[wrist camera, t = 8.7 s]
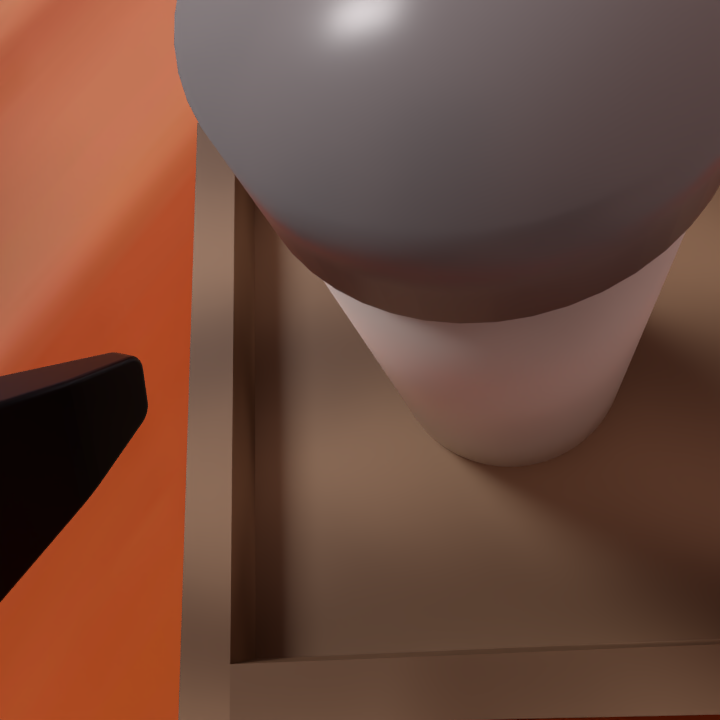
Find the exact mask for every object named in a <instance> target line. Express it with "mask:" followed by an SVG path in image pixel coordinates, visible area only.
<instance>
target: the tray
mask: <svg viewBox="0 0 720 720" xmlns="http://www.w3.org/2000/svg"><path fill="white" fill-rule="evenodd" d="M674 715H720V186H719V187H718V189H717V191H716V193H715V194H714V196H713V198H712V200H711V201H710V202H709V203H708V205H707V206H706V207H705V209H704V210H703V211H702V212H701V214H700V215H699V216H698V218H697V219H696V220H695V221H694V223H693V224H692V225H691V226H690V227H689V228H688V229H687V230H686V232H685V234H684V237H683V239H682V241H681V244H680V246H679V249H678V251H677V253H676V256H675V258H674V260H673V263H672V265H671V267H670V270H669V272H668V274H667V277H666V279H665V281H664V284H663V286H662V289H661V291H660V293H659V296H658V298H657V300H656V303H655V305H654V307H653V310H652V312H651V314H650V317H649V319H648V322H647V324H646V326H645V329H644V331H643V333H642V336H641V338H640V340H639V343H638V345H637V347H636V350H635V352H634V355H633V357H632V359H631V362H630V364H629V366H628V369H627V371H626V373H625V376H624V378H623V380H622V383H621V385H620V388H619V390H618V392H617V395H616V397H615V399H614V402H613V404H612V406H611V408H610V409H609V411H608V413H607V415H606V417H605V418H604V419H603V421H602V422H601V423H600V425H599V426H598V427H597V428H596V429H595V430H594V431H593V432H592V433H591V434H590V435H589V436H588V437H587V438H586V439H585V440H584V441H583V442H581V443H580V444H579V445H577V446H576V447H575V448H573V449H571V450H570V451H568V452H566V453H564V454H562V455H561V456H558V457H556V458H553V459H550V460H548V461H545V462H541V463H537V464H533V465H527V466H518V467H500V466H493V465H486V464H482V463H478V462H475V461H471V460H469V459H466V458H464V457H461V456H459V455H457V454H455V453H453V452H452V451H450V450H448V449H447V448H445V447H444V446H442V445H441V444H440V443H438V442H437V441H436V440H435V439H433V438H432V437H431V436H430V435H429V434H428V433H427V432H426V431H425V430H424V428H423V427H422V426H421V424H420V423H419V422H418V420H417V419H416V418H415V416H414V415H413V413H412V412H411V410H410V409H409V407H408V406H407V404H406V403H405V401H404V400H403V398H402V397H401V395H400V394H399V392H398V391H397V389H396V388H395V387H394V385H393V384H392V382H391V381H390V379H389V378H388V376H387V375H386V373H385V372H384V370H383V369H382V367H381V366H380V364H379V363H378V361H377V360H376V358H375V357H374V355H373V354H372V352H371V351H370V349H369V348H368V346H367V345H366V343H365V342H364V340H363V339H362V337H361V336H360V334H359V333H358V331H357V330H356V328H355V327H354V326H353V324H352V323H351V321H350V320H349V318H348V317H347V315H346V314H345V312H344V311H343V309H342V308H341V306H340V305H339V303H338V302H337V300H336V299H335V297H334V296H333V294H332V293H331V291H330V290H329V288H328V287H327V285H326V284H325V282H324V281H323V280H322V279H321V278H319V277H318V276H316V275H315V274H314V273H312V272H311V271H310V270H309V269H308V268H307V267H306V266H305V265H304V264H303V263H302V262H301V261H300V260H298V259H297V258H296V257H295V256H294V255H293V254H292V253H291V252H290V250H289V249H288V248H287V246H286V245H285V244H284V242H283V241H282V240H281V238H280V237H279V236H278V234H277V233H276V232H275V230H274V229H273V228H272V226H271V225H270V223H269V222H268V221H267V219H266V218H265V216H264V215H263V214H262V212H261V211H260V209H259V208H258V207H257V205H256V204H255V202H254V201H253V199H252V198H251V197H250V195H249V194H248V192H247V191H246V190H245V188H244V187H243V185H242V184H241V183H240V181H239V180H238V178H237V177H236V176H235V174H234V173H233V171H232V170H231V169H230V167H229V166H228V164H227V163H226V162H225V160H224V159H223V157H222V156H221V155H220V153H219V152H218V150H217V149H216V148H215V146H214V145H213V143H212V142H211V141H210V139H209V138H208V136H207V135H206V134H205V132H204V131H203V129H202V128H201V126H200V124H199V123H197V154H196V186H195V217H194V249H193V280H192V312H191V343H190V375H189V406H188V438H187V469H186V501H185V532H184V564H183V596H182V627H181V659H180V690H179V720H491V719H537V718H583V717H628V716H674Z"/></svg>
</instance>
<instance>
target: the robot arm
mask: <svg viewBox="0 0 720 720" xmlns="http://www.w3.org/2000/svg"><path fill="white" fill-rule="evenodd" d="M147 409H148V401H147V395H146V388H145V381H144V374H143V367H142V364H141V362H140V360H139V359H138V358H136V357H134V356H131V355H126V354H121V353H107V354H102V355H98V356H93V357H88V358H84V359H79V360H74V361H70V362H65V363H60V364H56V365H51V366H47V367H42V368H37V369H33V370H28V371H23V372H19V373H14V374H9V375H5V376H0V602H1V601H2V600H3V599H4V597H5V596H6V595H7V594H8V593H9V592H10V590H11V589H12V588H13V587H14V586H15V584H16V583H17V582H18V581H19V580H20V579H21V577H22V576H23V575H24V574H25V573H26V572H27V570H28V569H29V568H30V567H31V566H32V565H33V563H34V562H35V561H36V560H37V559H38V558H39V556H40V555H41V554H42V553H43V552H44V551H45V549H46V548H47V547H48V546H49V545H50V543H51V542H52V541H53V540H54V539H55V538H56V536H57V535H58V534H59V533H60V532H61V531H62V529H63V528H64V527H65V526H66V525H67V524H68V522H69V521H70V520H71V519H72V518H73V517H74V515H75V514H76V513H77V512H78V511H79V510H80V508H81V507H82V506H83V505H84V504H85V502H86V501H87V500H88V499H89V497H90V496H91V495H92V494H93V492H94V491H95V490H96V488H97V487H98V485H99V484H100V483H101V481H102V480H103V478H104V477H105V476H106V474H107V473H108V471H109V470H110V468H111V467H112V465H113V464H114V463H115V461H116V460H117V458H118V457H119V455H120V454H121V453H122V451H123V450H124V448H125V447H126V445H127V444H128V442H129V441H130V440H131V438H132V437H133V435H134V434H135V432H136V431H137V429H138V428H139V427H140V425H141V424H142V422H143V421H144V419H145V416H146V414H147Z"/></svg>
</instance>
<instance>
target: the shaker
mask: <svg viewBox="0 0 720 720" xmlns="http://www.w3.org/2000/svg"><path fill="white" fill-rule="evenodd" d="M174 45H175V52H176V59H177V66H178V73H179V76H180V79H181V82H182V86H183V89H184V92H185V95H186V98H187V101H188V103H189V105H190V107H191V109H192V111H193V113H194V115H195V117H196V118H197V120H198V122H199V124H200V126H201V128H202V129H203V131H204V132H205V134H206V135H207V136H208V138H209V139H210V141H211V142H212V143H213V145H214V146H215V148H216V149H217V150H218V152H219V153H220V155H221V156H222V157H223V159H224V160H225V162H226V163H227V164H228V166H229V167H230V169H231V170H232V171H233V173H234V174H235V176H236V177H237V178H238V180H239V181H240V183H241V184H242V185H243V187H244V188H245V190H246V191H247V192H248V194H249V195H250V197H251V198H252V199H253V201H254V202H255V204H256V205H257V207H258V208H259V209H260V211H261V212H262V214H263V215H264V216H265V218H266V219H267V221H268V222H269V223H270V225H271V226H272V228H273V229H274V230H275V232H276V233H277V234H278V236H279V237H280V238H281V240H282V241H283V242H284V244H285V245H286V246H287V248H288V249H289V250H290V252H291V253H292V254H293V255H294V256H295V257H296V258H297V259H298V260H300V261H301V262H302V263H303V264H304V265H305V266H306V267H307V268H308V269H309V270H310V271H311V272H312V273H314V274H315V275H316V276H318V277H319V278H321V279H322V280H323V281H324V282H325V284H326V285H327V287H328V288H329V290H330V291H331V293H332V294H333V296H334V297H335V299H336V300H337V302H338V303H339V305H340V306H341V308H342V309H343V311H344V312H345V314H346V315H347V317H348V318H349V320H350V321H351V323H352V324H353V326H354V327H355V328H356V330H357V331H358V333H359V334H360V336H361V337H362V339H363V340H364V342H365V343H366V345H367V346H368V348H369V349H370V351H371V352H372V354H373V355H374V357H375V358H376V360H377V361H378V363H379V364H380V366H381V367H382V369H383V370H384V372H385V373H386V375H387V376H388V378H389V379H390V381H391V382H392V384H393V385H394V387H395V388H396V389H397V391H398V392H399V394H400V395H401V397H402V398H403V400H404V401H405V403H406V404H407V406H408V407H409V409H410V410H411V412H412V413H413V415H414V416H415V418H416V419H417V420H418V422H419V423H420V424H421V426H422V427H423V428H424V430H425V431H426V432H427V433H428V434H429V435H430V436H431V437H432V438H433V439H435V440H436V441H437V442H438V443H440V444H441V445H442V446H444V447H445V448H447V449H448V450H450V451H452V452H453V453H455V454H457V455H459V456H461V457H464V458H466V459H469V460H471V461H475V462H478V463H482V464H486V465H493V466H500V467H518V466H527V465H533V464H537V463H541V462H545V461H548V460H550V459H553V458H556V457H558V456H561V455H562V454H564V453H566V452H568V451H570V450H571V449H573V448H575V447H576V446H577V445H579V444H580V443H581V442H583V441H584V440H585V439H586V438H587V437H588V436H589V435H590V434H591V433H592V432H593V431H594V430H595V429H596V428H597V427H598V426H599V425H600V423H601V422H602V421H603V419H604V418H605V417H606V415H607V413H608V411H609V409H610V408H611V406H612V404H613V402H614V399H615V397H616V395H617V392H618V390H619V388H620V385H621V383H622V380H623V378H624V376H625V373H626V371H627V369H628V366H629V364H630V362H631V359H632V357H633V355H634V352H635V350H636V347H637V345H638V343H639V340H640V338H641V336H642V333H643V331H644V329H645V326H646V324H647V322H648V319H649V317H650V314H651V312H652V310H653V307H654V305H655V303H656V300H657V298H658V296H659V293H660V291H661V289H662V286H663V284H664V281H665V279H666V277H667V274H668V272H669V270H670V267H671V265H672V263H673V260H674V258H675V256H676V253H677V251H678V249H679V246H680V244H681V241H682V239H683V237H684V234H685V232H686V230H687V229H688V228H689V227H690V226H691V225H692V224H693V223H694V221H695V220H696V219H697V218H698V216H699V215H700V214H701V212H702V211H703V210H704V209H705V207H706V206H707V205H708V203H709V202H710V201H711V200H712V198H713V196H714V194H715V193H716V191H717V189H718V187H719V186H720V0H177V5H176V11H175V33H174Z"/></svg>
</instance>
